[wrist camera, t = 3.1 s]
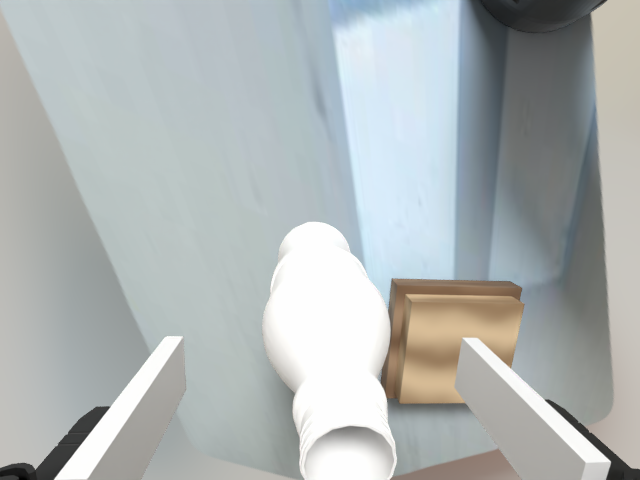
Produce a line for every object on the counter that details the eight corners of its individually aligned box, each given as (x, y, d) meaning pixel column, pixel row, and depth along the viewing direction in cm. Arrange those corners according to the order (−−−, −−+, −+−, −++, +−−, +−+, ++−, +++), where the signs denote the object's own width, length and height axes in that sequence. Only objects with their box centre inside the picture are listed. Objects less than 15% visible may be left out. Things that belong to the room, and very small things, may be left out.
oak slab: (405, 294, 33) (412, 301, 31) (511, 296, 34) (524, 304, 32) (394, 390, 36) (399, 403, 34) (492, 390, 37) (503, 402, 35)
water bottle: (331, 207, 33) (423, 320, 8) (355, 266, 34) (490, 502, 10) (269, 233, 33) (184, 417, 9) (296, 291, 35) (289, 581, 10)
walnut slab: (391, 278, 35) (397, 285, 33) (510, 281, 36) (522, 287, 34) (380, 386, 38) (384, 398, 36) (489, 386, 39) (499, 397, 37)
